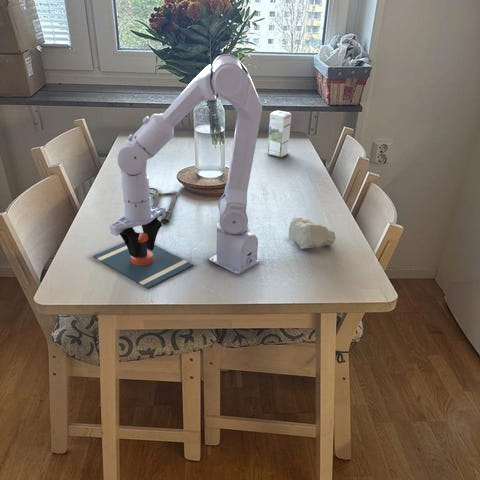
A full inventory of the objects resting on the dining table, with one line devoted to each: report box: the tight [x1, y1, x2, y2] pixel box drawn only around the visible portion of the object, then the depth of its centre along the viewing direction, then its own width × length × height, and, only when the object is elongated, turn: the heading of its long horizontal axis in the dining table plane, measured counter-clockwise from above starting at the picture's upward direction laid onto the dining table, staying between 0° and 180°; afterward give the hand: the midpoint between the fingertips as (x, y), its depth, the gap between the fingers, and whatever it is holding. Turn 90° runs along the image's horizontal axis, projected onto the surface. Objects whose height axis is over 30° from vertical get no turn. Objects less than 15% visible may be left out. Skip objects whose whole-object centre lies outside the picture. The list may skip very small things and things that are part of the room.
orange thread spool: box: [131, 232, 153, 266], centre depth 118 cm, size 5×5×6 cm
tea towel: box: [92, 241, 194, 290], centre depth 120 cm, size 20×14×1 cm
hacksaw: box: [149, 187, 179, 225], centre depth 145 cm, size 24×10×2 cm, turn 179°
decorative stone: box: [288, 217, 337, 250], centre depth 128 cm, size 11×9×10 cm
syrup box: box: [267, 110, 292, 158], centre depth 180 cm, size 6×6×14 cm
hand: (141, 252), depth 119 cm, fingers open, 4 cm apart
